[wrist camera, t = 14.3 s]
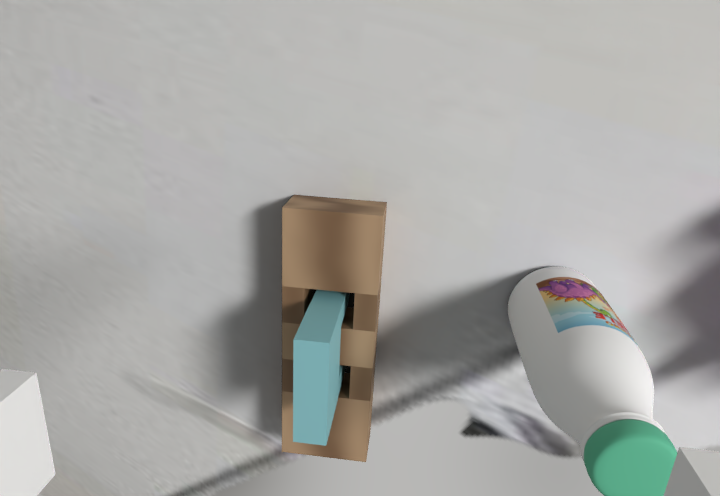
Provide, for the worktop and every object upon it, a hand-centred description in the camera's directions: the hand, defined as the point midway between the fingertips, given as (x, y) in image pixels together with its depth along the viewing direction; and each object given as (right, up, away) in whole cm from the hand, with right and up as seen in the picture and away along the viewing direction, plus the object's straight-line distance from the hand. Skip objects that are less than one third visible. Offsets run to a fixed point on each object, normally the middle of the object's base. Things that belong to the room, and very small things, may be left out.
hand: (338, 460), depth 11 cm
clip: (-2, -3, +38) cm, 39 cm away
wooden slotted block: (-2, -3, +38) cm, 39 cm away
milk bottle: (+17, 0, +36) cm, 39 cm away
